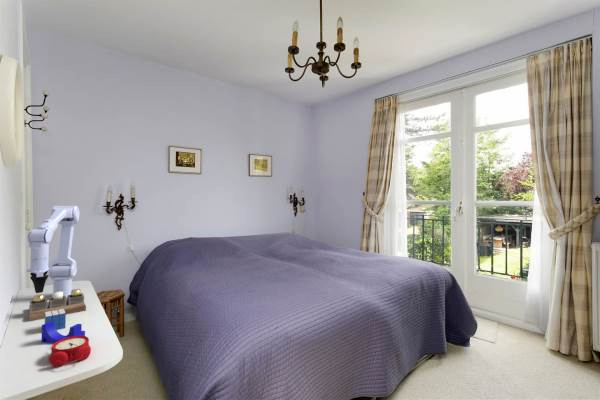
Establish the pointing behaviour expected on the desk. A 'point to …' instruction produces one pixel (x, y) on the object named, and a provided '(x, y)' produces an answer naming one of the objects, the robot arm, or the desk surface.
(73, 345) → the alarm clock
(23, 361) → the desk surface
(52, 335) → the blue curved block
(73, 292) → the knob
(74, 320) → the desk surface
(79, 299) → the knob panel
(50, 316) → the puzzle toy
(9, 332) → the desk surface
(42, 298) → the knob
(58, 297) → the knob middle
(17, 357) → the desk surface
